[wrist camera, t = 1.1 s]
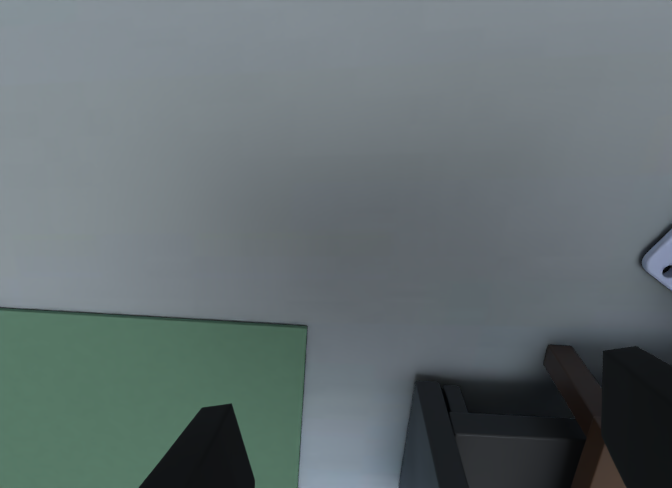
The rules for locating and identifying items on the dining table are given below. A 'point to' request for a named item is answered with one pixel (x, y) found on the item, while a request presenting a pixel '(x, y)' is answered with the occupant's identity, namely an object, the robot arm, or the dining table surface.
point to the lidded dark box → (485, 446)
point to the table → (583, 416)
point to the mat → (140, 394)
